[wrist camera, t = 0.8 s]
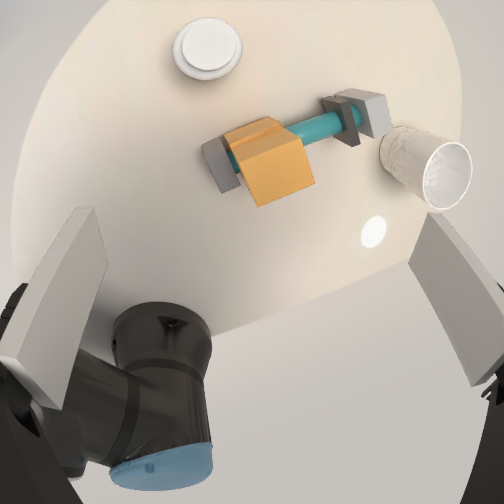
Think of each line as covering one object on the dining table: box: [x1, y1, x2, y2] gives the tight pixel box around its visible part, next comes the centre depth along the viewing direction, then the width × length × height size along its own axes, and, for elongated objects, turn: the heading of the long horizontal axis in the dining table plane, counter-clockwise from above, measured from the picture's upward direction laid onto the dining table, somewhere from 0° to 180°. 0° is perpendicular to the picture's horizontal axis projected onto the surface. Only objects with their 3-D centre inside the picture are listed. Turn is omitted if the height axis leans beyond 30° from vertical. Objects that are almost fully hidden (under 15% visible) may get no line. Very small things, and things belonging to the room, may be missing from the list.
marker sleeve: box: [224, 116, 315, 207], centre depth 28 cm, size 5×5×10 cm
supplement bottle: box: [172, 17, 242, 81], centre depth 23 cm, size 6×6×10 cm
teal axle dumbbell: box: [202, 89, 393, 194], centre depth 30 cm, size 18×5×7 cm, turn 112°
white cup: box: [380, 126, 472, 210], centre depth 33 cm, size 8×8×10 cm
